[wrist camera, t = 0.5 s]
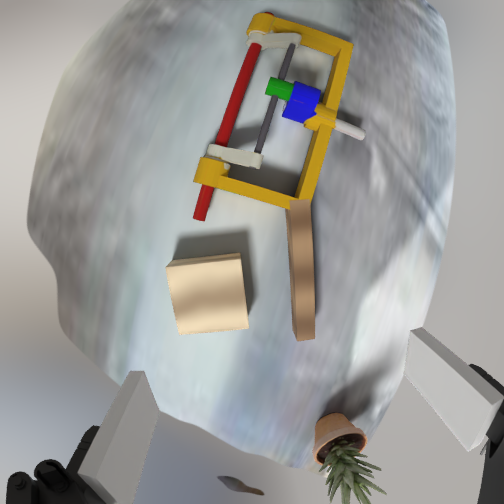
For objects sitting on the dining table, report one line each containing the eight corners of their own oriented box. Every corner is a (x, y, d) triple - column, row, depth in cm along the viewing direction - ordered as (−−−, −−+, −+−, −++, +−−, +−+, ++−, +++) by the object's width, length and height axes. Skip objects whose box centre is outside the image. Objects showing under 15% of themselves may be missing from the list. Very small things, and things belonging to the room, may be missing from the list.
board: (284, 199, 36) (289, 200, 32) (303, 198, 36) (309, 199, 32) (292, 329, 39) (297, 341, 36) (309, 327, 39) (314, 338, 36)
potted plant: (356, 428, 45) (400, 524, 21) (310, 444, 45) (339, 546, 21) (352, 397, 43) (407, 505, 19) (301, 414, 43) (333, 533, 19)
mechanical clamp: (175, 218, 29) (257, -6, 24) (186, 214, 35) (254, 18, 30) (337, 265, 31) (393, 44, 25) (322, 253, 37) (374, 60, 31)
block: (172, 259, 37) (165, 267, 33) (240, 251, 37) (240, 259, 33) (184, 321, 39) (179, 334, 35) (247, 315, 39) (249, 328, 35)
